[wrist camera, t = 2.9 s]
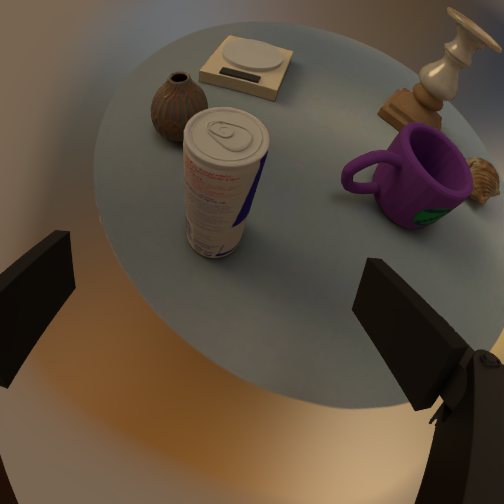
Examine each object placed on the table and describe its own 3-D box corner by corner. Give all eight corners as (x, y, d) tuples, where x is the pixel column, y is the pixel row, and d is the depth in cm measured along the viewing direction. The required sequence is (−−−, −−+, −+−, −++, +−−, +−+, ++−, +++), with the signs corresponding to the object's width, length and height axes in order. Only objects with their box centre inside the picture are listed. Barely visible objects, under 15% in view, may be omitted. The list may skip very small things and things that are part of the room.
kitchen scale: (198, 81, 41) (199, 66, 38) (227, 44, 47) (229, 31, 44) (274, 101, 42) (278, 86, 39) (290, 61, 47) (294, 48, 45)
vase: (142, 132, 36) (135, 80, 28) (180, 106, 38) (180, 55, 30) (179, 158, 35) (177, 104, 27) (217, 129, 38) (223, 76, 30)
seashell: (483, 193, 45) (458, 162, 46) (508, 176, 39) (482, 142, 39) (477, 220, 41) (449, 184, 42) (506, 201, 35) (477, 162, 35)
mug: (415, 169, 42) (450, 129, 33) (440, 235, 38) (486, 201, 28) (315, 159, 38) (344, 104, 29) (337, 239, 34) (380, 192, 25)
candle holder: (426, 154, 44) (506, 57, 22) (376, 114, 45) (441, 5, 24) (437, 129, 48) (502, 46, 26) (394, 94, 50) (449, 4, 28)
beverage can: (243, 258, 31) (277, 167, 18) (187, 260, 30) (181, 166, 17) (238, 210, 33) (265, 106, 20) (186, 211, 32) (184, 104, 19)
